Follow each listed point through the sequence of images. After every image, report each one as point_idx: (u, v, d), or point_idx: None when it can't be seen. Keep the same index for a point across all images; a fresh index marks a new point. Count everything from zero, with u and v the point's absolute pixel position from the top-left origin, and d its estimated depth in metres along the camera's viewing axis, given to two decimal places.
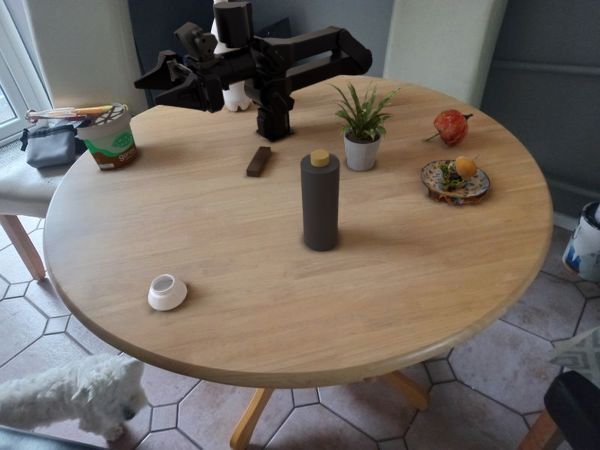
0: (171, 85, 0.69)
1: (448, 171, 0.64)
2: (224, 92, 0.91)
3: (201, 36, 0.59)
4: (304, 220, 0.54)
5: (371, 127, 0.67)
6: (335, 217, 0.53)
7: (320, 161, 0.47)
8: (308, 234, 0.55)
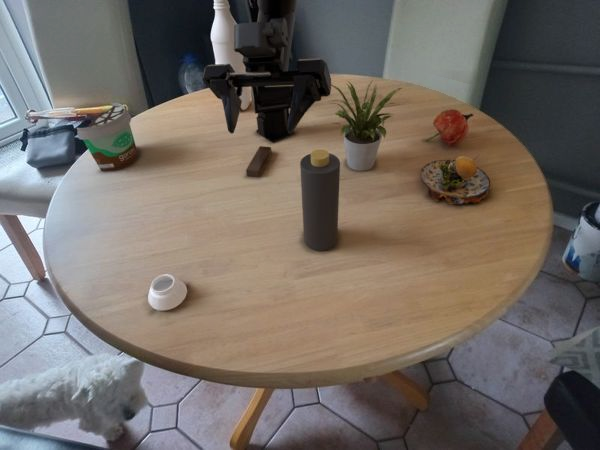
0: (239, 99, 0.58)
1: (448, 171, 0.64)
2: None
3: (277, 31, 0.48)
4: (304, 220, 0.54)
5: (371, 127, 0.67)
6: (335, 217, 0.53)
7: (320, 161, 0.47)
8: (308, 234, 0.55)
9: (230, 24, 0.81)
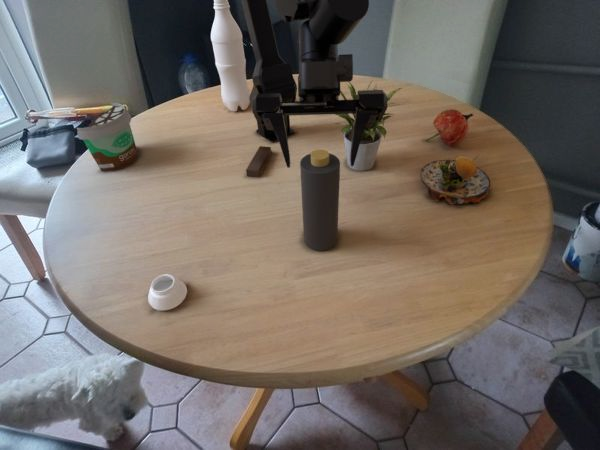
0: (285, 126, 0.56)
1: (448, 171, 0.64)
2: (224, 92, 0.91)
3: (348, 70, 0.47)
4: (304, 220, 0.54)
5: (371, 127, 0.67)
6: (335, 217, 0.53)
7: (320, 161, 0.47)
8: (308, 234, 0.55)
9: (230, 24, 0.81)
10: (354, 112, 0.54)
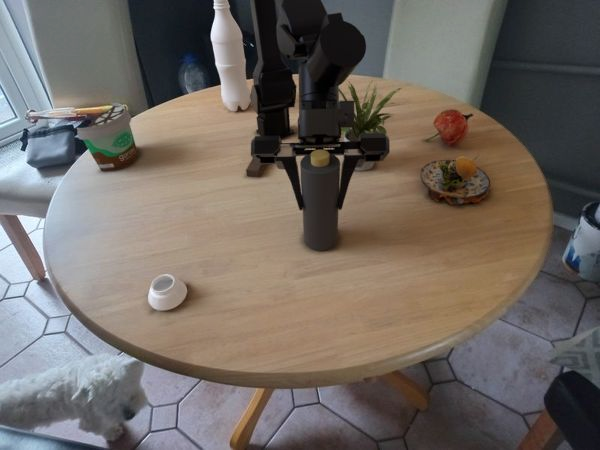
0: (297, 166, 0.54)
1: (448, 171, 0.64)
2: (224, 92, 0.91)
3: (350, 117, 0.45)
4: (304, 220, 0.54)
5: (371, 127, 0.67)
6: (335, 217, 0.53)
7: (320, 161, 0.47)
8: (308, 234, 0.55)
9: (230, 24, 0.81)
10: (342, 154, 0.52)
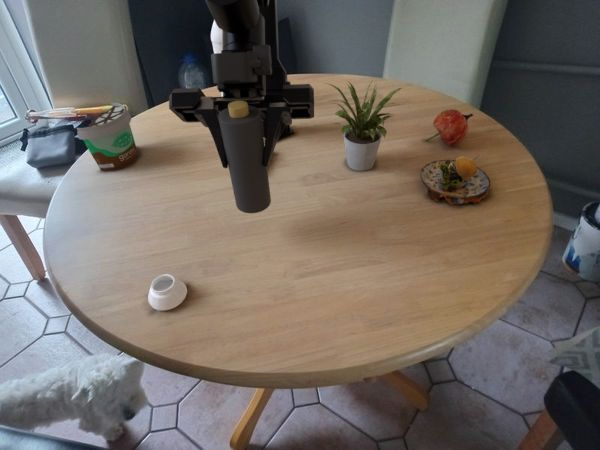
0: None
1: (448, 171, 0.64)
2: None
3: (264, 62, 0.42)
4: (231, 180, 0.51)
5: (371, 127, 0.67)
6: (262, 175, 0.50)
7: (237, 111, 0.44)
8: (236, 195, 0.52)
9: None
10: None
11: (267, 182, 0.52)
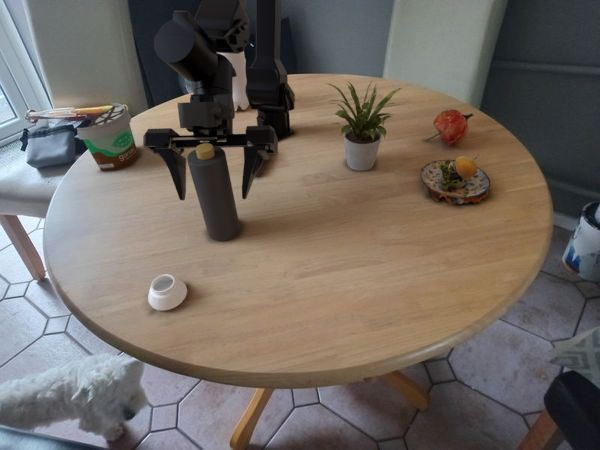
0: (183, 158, 0.57)
1: (448, 171, 0.64)
2: None
3: (225, 109, 0.47)
4: (202, 211, 0.56)
5: (371, 127, 0.67)
6: (229, 208, 0.55)
7: (203, 154, 0.49)
8: (207, 225, 0.57)
9: None
10: (247, 146, 0.54)
11: (235, 213, 0.57)
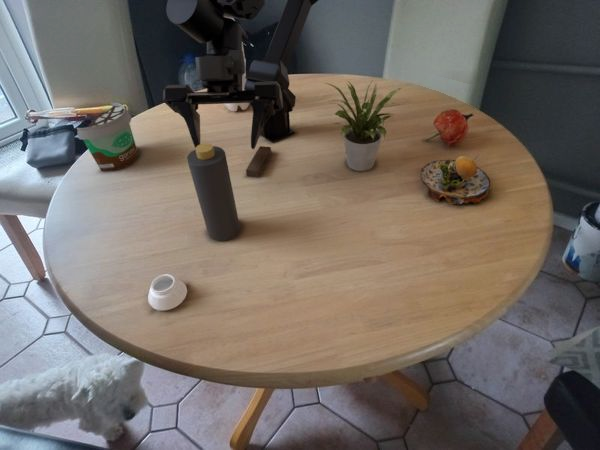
0: (198, 114, 0.63)
1: (448, 171, 0.64)
2: None
3: (237, 63, 0.54)
4: (202, 211, 0.56)
5: (371, 127, 0.67)
6: (229, 208, 0.55)
7: (203, 154, 0.49)
8: (207, 225, 0.57)
9: None
10: None
11: (235, 213, 0.57)
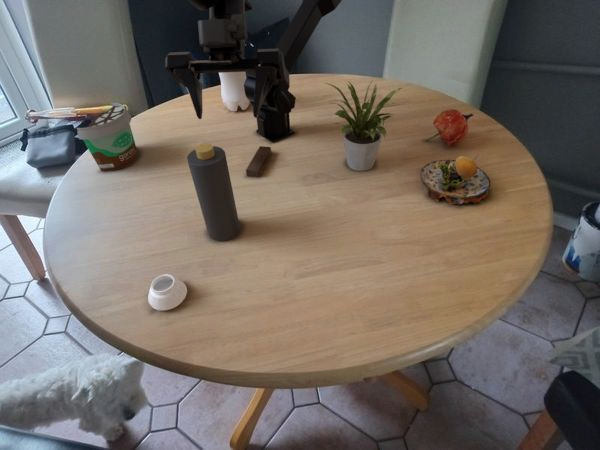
0: (200, 84, 0.63)
1: (448, 171, 0.64)
2: (224, 92, 0.91)
3: (240, 27, 0.53)
4: (202, 211, 0.56)
5: (371, 127, 0.67)
6: (229, 208, 0.55)
7: (203, 154, 0.49)
8: (207, 225, 0.57)
9: None
10: None
11: (235, 213, 0.57)
